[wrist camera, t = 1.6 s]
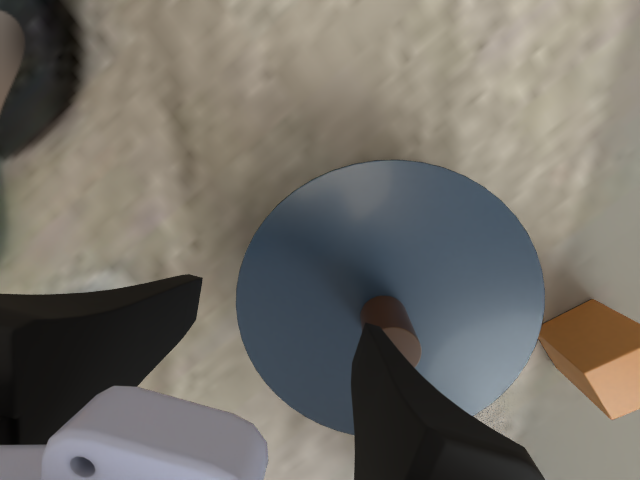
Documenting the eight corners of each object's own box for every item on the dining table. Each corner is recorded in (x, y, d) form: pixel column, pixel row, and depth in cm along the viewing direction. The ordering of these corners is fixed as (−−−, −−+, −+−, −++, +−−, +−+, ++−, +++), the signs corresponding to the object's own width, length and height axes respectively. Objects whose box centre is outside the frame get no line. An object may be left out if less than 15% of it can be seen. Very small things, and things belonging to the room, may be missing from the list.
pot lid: (585, 346, 17) (665, 406, 13) (343, 461, 21) (343, 539, 17) (434, 90, 15) (471, 57, 10) (186, 270, 18) (137, 302, 14)
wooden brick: (615, 339, 22) (692, 388, 17) (555, 367, 23) (612, 421, 18) (592, 298, 22) (664, 336, 17) (531, 328, 22) (583, 373, 18)
